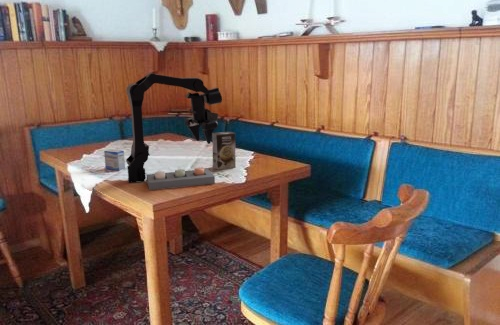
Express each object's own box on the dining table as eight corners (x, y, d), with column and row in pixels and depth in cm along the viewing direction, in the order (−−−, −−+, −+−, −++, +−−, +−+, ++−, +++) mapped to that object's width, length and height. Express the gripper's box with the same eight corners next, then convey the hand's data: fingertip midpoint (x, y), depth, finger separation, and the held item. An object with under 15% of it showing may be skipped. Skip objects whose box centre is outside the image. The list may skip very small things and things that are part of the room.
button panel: (149, 190, 166) (149, 182, 165) (146, 181, 177) (146, 174, 176) (214, 183, 174) (214, 176, 173) (208, 175, 185) (208, 168, 184)
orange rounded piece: (195, 177, 175) (195, 170, 174) (193, 175, 178) (193, 168, 178) (205, 176, 176) (205, 169, 175) (203, 174, 179) (203, 167, 179)
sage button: (176, 179, 172) (175, 172, 171) (174, 177, 176) (174, 170, 175) (185, 178, 173) (185, 171, 173) (184, 176, 177) (184, 169, 176)
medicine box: (105, 169, 196) (103, 150, 194) (111, 166, 200) (110, 148, 198) (119, 171, 193) (117, 152, 191) (125, 168, 197) (124, 150, 195)
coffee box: (218, 170, 193) (217, 135, 189) (212, 166, 198) (211, 132, 194) (236, 167, 197) (235, 133, 193) (230, 164, 202) (229, 130, 198)
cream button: (155, 181, 170) (155, 174, 169) (154, 178, 174) (154, 171, 173) (166, 180, 171) (165, 173, 170) (164, 177, 175) (164, 170, 174)
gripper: (226, 105, 181) (230, 140, 185) (203, 102, 195) (207, 135, 200) (203, 110, 174) (208, 147, 179) (181, 106, 189) (186, 140, 193)
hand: (203, 142), depth 188 cm, fingers open, 9 cm apart
